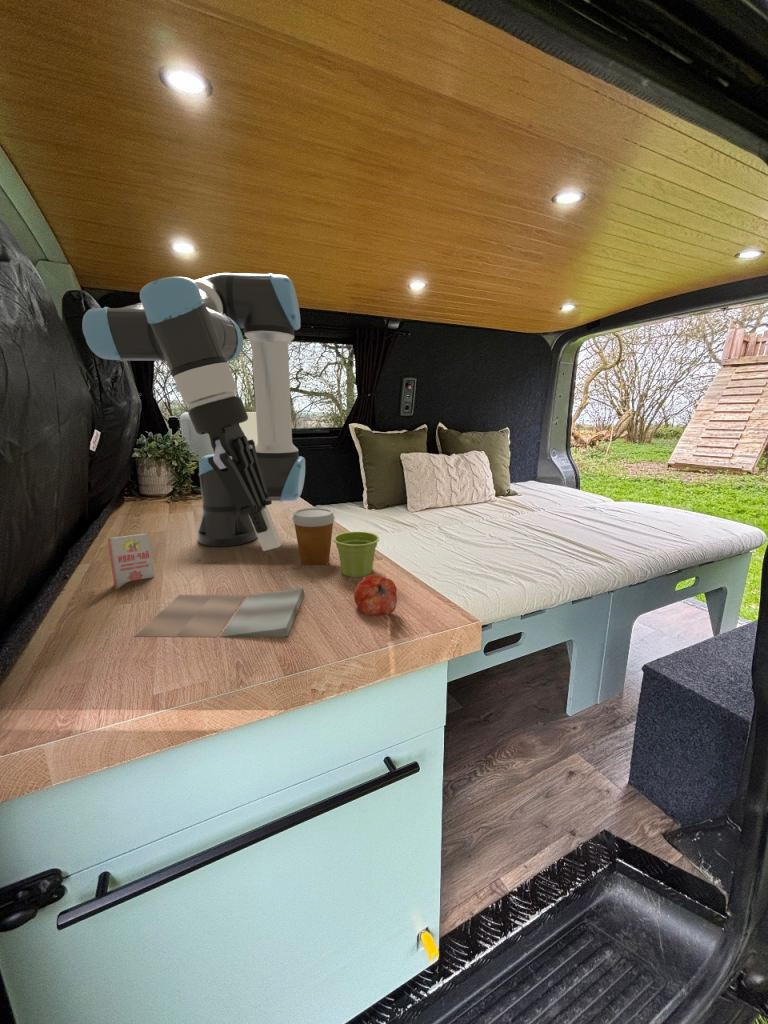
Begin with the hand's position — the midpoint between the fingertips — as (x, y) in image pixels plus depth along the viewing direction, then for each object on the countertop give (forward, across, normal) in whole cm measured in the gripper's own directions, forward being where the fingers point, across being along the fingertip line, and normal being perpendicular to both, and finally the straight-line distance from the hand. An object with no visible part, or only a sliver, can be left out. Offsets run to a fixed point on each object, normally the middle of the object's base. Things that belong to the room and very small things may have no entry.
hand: (272, 547), depth 65 cm
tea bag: (+4, -12, -34) cm, 37 cm away
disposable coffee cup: (+15, -25, -2) cm, 29 cm away
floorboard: (+8, +2, -16) cm, 18 cm away
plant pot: (+17, -17, +8) cm, 25 cm away
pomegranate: (+17, -1, +12) cm, 21 cm away
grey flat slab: (+11, +2, -5) cm, 12 cm away
